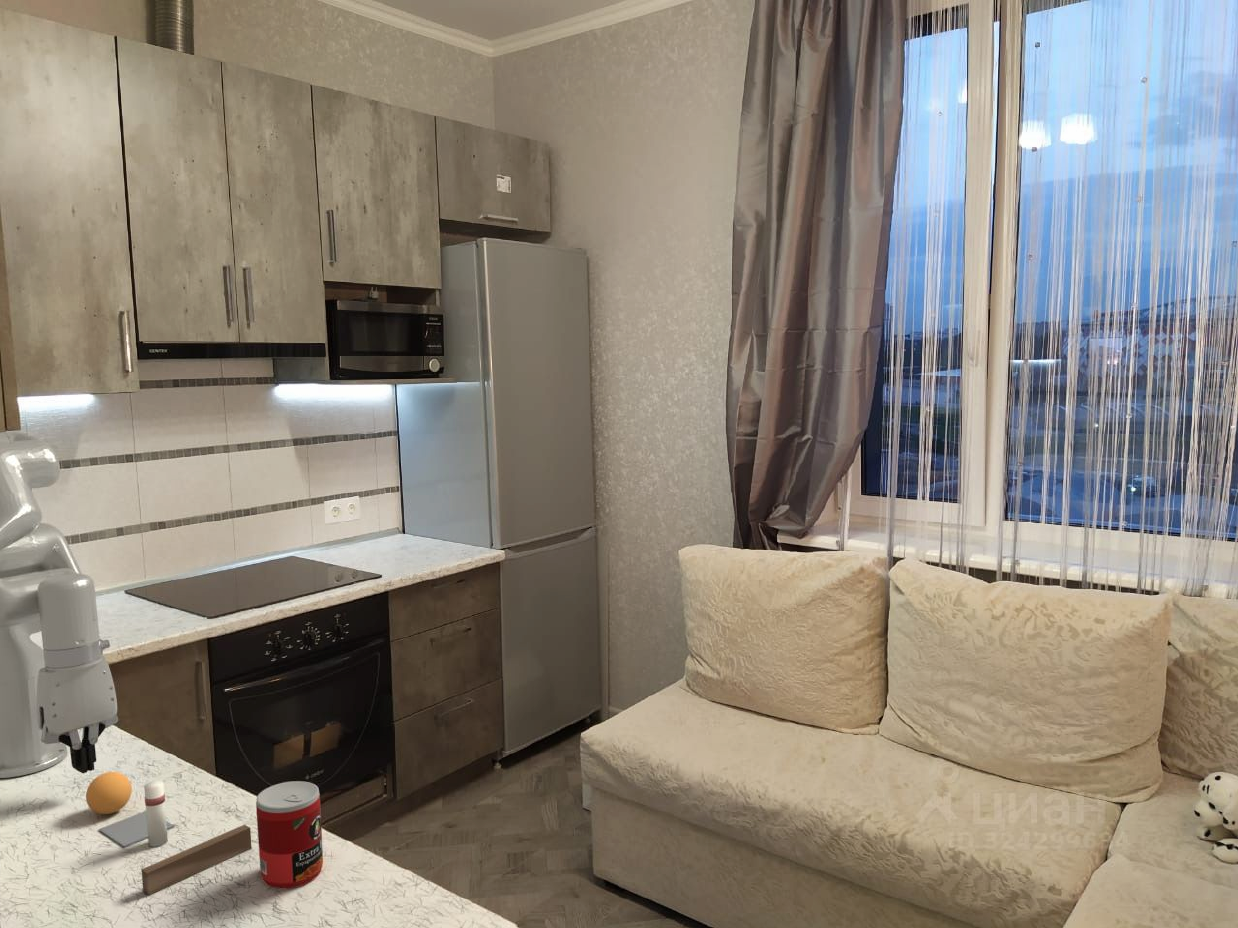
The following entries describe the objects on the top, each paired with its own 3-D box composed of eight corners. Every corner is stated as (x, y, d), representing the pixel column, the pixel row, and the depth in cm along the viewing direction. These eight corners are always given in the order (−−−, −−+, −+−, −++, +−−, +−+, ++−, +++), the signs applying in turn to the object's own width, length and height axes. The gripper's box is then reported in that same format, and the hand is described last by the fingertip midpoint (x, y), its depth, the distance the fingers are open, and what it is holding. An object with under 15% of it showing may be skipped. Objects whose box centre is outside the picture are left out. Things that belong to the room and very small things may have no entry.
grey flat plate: (99, 830, 131) (98, 828, 131) (148, 811, 136) (148, 809, 136) (124, 847, 126) (124, 845, 126) (174, 826, 131) (174, 825, 131)
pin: (145, 843, 127) (140, 785, 126) (162, 835, 129) (158, 779, 128) (153, 848, 125) (149, 790, 124) (171, 841, 127) (167, 783, 126)
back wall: (143, 891, 115) (141, 869, 115) (245, 844, 126) (244, 824, 126) (148, 895, 114) (147, 873, 114) (251, 848, 125) (250, 827, 125)
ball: (80, 813, 136) (77, 775, 135) (122, 798, 140) (119, 761, 140) (98, 825, 132) (95, 786, 131) (140, 809, 137) (137, 771, 136)
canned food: (304, 892, 114) (299, 810, 113) (247, 886, 116) (242, 805, 115) (334, 860, 122) (330, 782, 120) (281, 854, 123) (277, 778, 122)
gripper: (113, 639, 147) (123, 748, 149) (8, 664, 136) (21, 782, 137) (134, 646, 143) (145, 758, 144) (28, 672, 131) (41, 793, 133)
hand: (84, 769), depth 141 cm, fingers closed
